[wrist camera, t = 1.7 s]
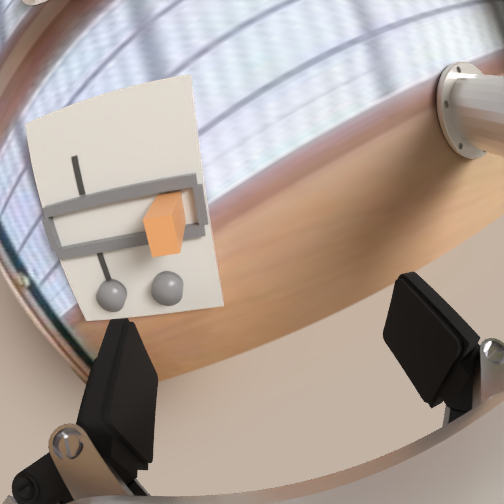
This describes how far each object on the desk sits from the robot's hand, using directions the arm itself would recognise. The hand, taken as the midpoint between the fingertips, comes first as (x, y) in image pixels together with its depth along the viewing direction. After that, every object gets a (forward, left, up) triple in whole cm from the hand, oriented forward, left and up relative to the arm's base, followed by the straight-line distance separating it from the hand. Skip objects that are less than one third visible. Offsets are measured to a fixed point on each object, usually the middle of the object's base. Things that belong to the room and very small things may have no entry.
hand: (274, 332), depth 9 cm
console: (+10, 0, -19) cm, 21 cm away
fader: (+5, 0, -16) cm, 17 cm away
